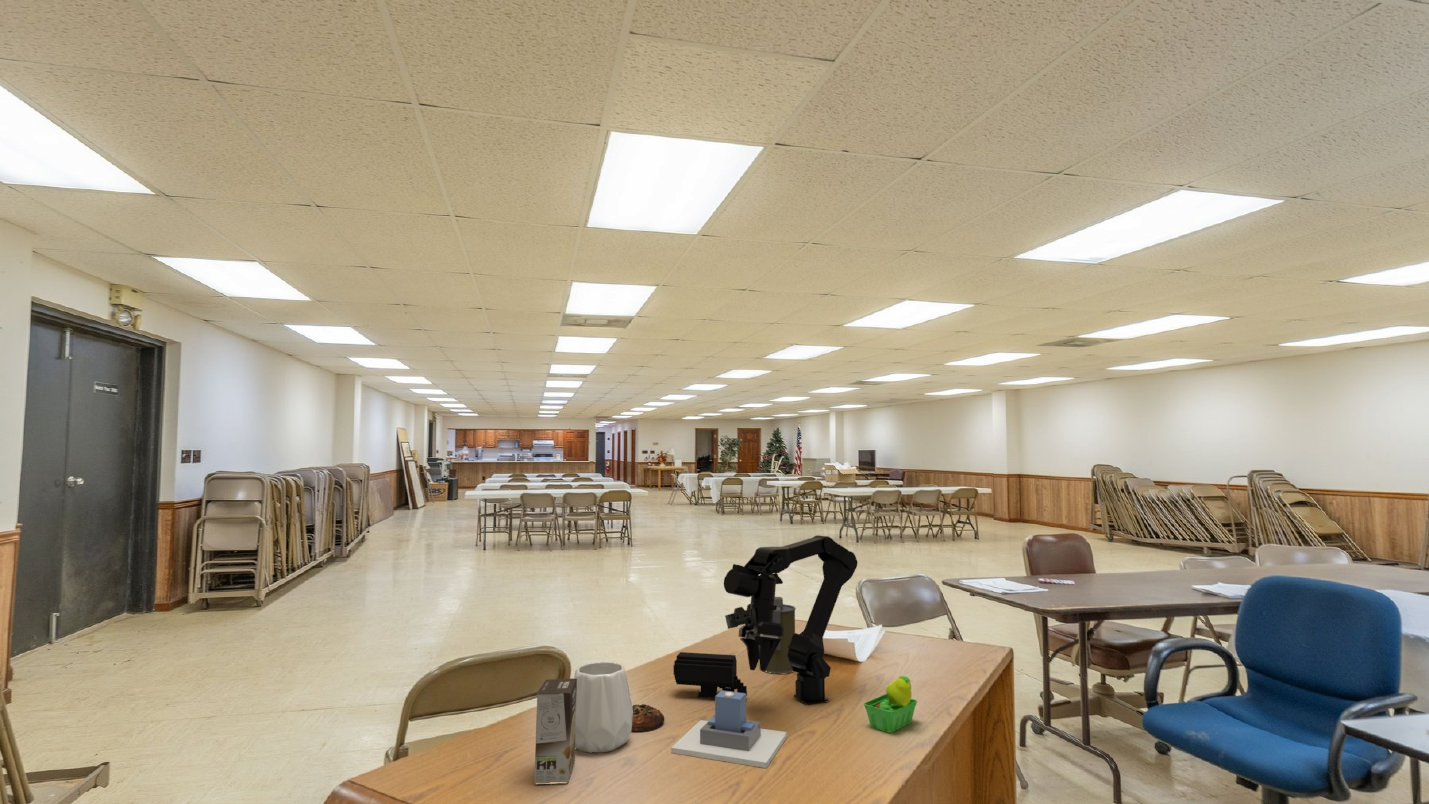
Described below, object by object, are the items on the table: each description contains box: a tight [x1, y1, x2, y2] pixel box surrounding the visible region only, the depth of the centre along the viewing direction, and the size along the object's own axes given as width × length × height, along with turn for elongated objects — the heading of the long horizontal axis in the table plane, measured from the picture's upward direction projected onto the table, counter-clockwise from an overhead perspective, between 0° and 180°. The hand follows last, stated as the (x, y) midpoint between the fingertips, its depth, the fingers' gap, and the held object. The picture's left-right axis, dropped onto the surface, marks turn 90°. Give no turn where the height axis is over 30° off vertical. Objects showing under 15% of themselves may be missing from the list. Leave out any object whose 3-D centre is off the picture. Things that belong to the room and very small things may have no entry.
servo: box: [707, 690, 754, 733], centre depth 138 cm, size 10×4×10 cm, turn 70°
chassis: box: [670, 715, 788, 769], centre depth 138 cm, size 20×16×4 cm
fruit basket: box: [863, 675, 918, 734], centre depth 148 cm, size 11×9×11 cm
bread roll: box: [631, 703, 665, 733], centre depth 149 cm, size 11×11×5 cm
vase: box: [573, 661, 633, 754], centre depth 139 cm, size 14×14×15 cm
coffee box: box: [533, 677, 577, 784], centre depth 125 cm, size 9×6×16 cm
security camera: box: [673, 651, 748, 700], centre depth 167 cm, size 7×18×10 cm, turn 78°
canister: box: [765, 596, 796, 675], centre depth 191 cm, size 11×10×20 cm
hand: (757, 670), depth 152 cm, fingers open, 9 cm apart
